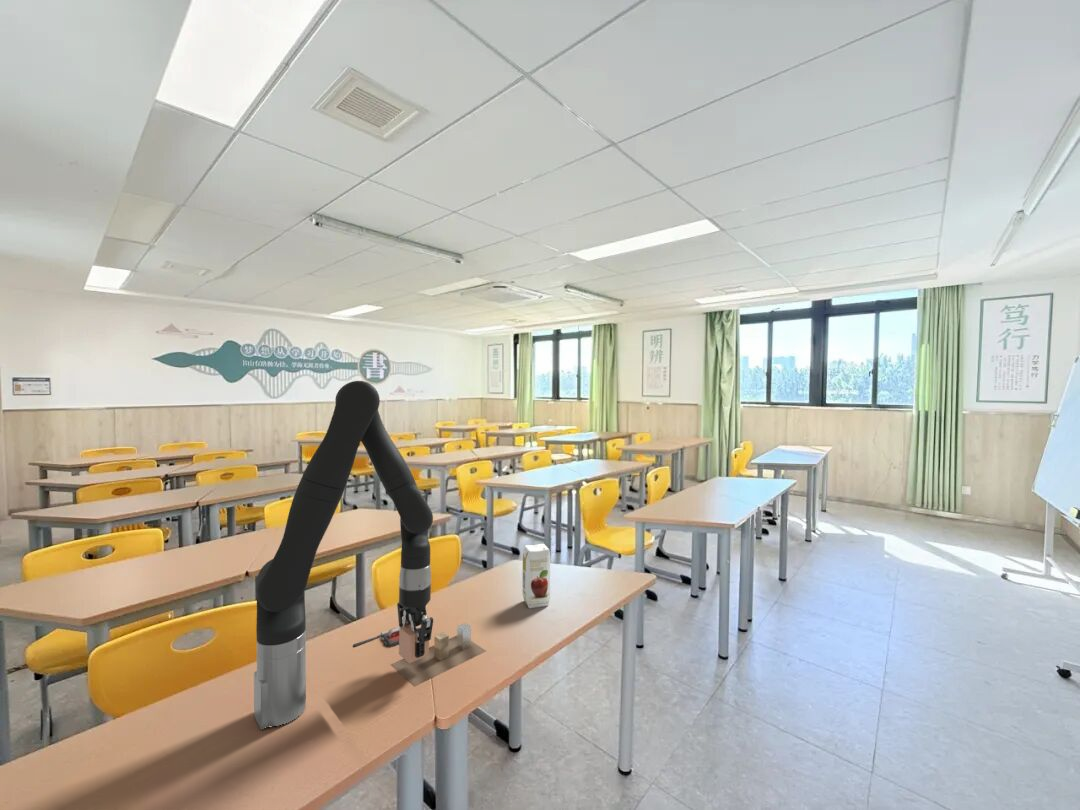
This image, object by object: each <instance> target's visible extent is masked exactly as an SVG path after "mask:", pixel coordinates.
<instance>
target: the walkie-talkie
mask: <svg viewBox="0 0 1080 810" xmlns="http://www.w3.org/2000/svg"><path fill="white" fill-rule="evenodd" d="M399 628H400V627H399V626H397V627H394V628H391V629H387V630H385V631H381V632H380V634H378V635H377V636H374V637H372V638H368V639H364V640H362V641H358V642H356V643H353V645H352V648H353V649H354V648H356V647H360V646H362V645H365V644H367V643H370V642H373V641H375V640H378V639H380V638H381V639H380V640H381V641H384V642H383V645H384V646H385V647H390V648H392V647H396V646H398V645H399Z"/></svg>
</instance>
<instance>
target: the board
mask: <svg viewBox="0 0 1080 810" xmlns="http://www.w3.org/2000/svg"><path fill="white" fill-rule="evenodd" d="M433 640H434V644H433V645H432V646H429V655H428V656H425V657H423V658H421V659H418V660H416V661H414V662H411V663H408V662H407V661H406V660H405V659H404V658H402V659H400V660H398V661H395V662H392V663H390V665H391V666H392V667H393V669H395V670H396V671H397V672H398V673H399V675H402V677H403V678H405V679H406V680H407V681H408V682H409V683H410V684H411V685H412V686H413V687H417V686H419V685H421V684H423V683H425V682H427V681H429V680H431V679H433V678H435V677H437V676H439V675H441V674H443V673H445V672H447V671H449V670H451V669H453V668H455V667H457V666H459V665H462V664H463V663H466V662H467V661H469V660H471V659H474V658H475V657H477V656H479V655H481V654H483V653H485V652H487V650H486V649H484V648H483V647H481V646H479V644H476V643H475V642H474V641H473V640H471V646H470V647H468V648H466V649H464V650H462V649H460V648H459V647H458V646H457V635H455V636H453V637H451V638H450V637H449V635H448V634H447V633H445V632H443V631H442V632H440V633H438V634H434V639H433Z"/></svg>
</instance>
